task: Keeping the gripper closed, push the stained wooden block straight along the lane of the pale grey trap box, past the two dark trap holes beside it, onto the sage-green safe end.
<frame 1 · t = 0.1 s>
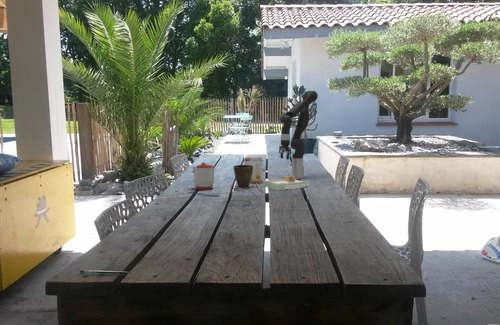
hand: (284, 159, 400), 17 cm above the table, tool pointing down, fingers open, 8 cm apart
trap box: (286, 186, 368), on the table
plant pot: (243, 187, 367), on the table
cracker box: (253, 182, 388), on the table
block: (289, 181, 375), point 3 cm above the table, touching trap box
citrus juicer: (203, 188, 362), on the table
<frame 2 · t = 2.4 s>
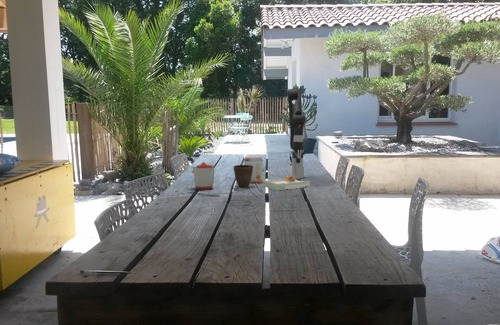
hand: (298, 163, 377), 17 cm above the table, tool pointing down, fingers closed
nothing on the table moved.
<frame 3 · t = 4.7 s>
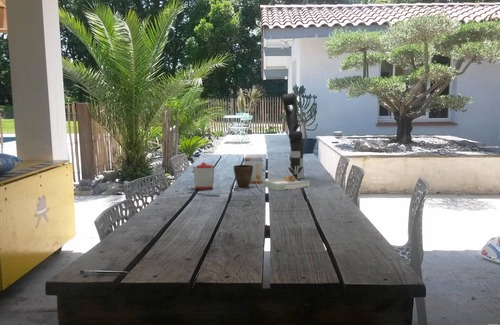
hand: (295, 178, 377), 5 cm above the table, tool pointing down, fingers closed
block: (289, 181, 375), point 3 cm above the table, touching gripper
everything else where it was.
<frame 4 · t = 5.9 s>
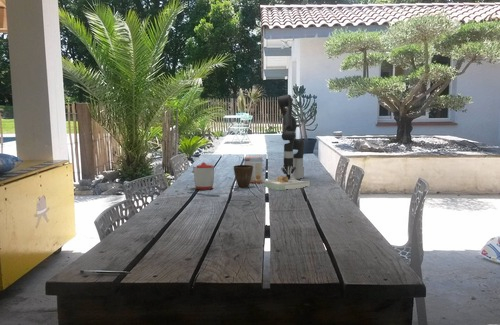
hand: (288, 179, 374), 5 cm above the table, tool pointing down, fingers closed
block: (282, 182, 372), point 3 cm above the table, touching gripper, trap box
everything else where it was.
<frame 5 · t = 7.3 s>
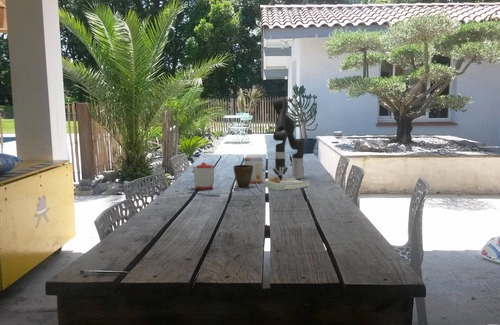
hand: (280, 180, 370), 5 cm above the table, tool pointing down, fingers closed
block: (274, 182, 368), point 3 cm above the table, touching gripper, trap box
everything else where it was.
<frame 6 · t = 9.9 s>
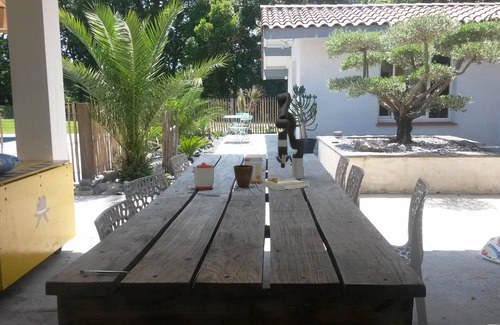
hand: (282, 168, 370), 14 cm above the table, tool pointing down, fingers closed
block: (272, 183, 367), point 3 cm above the table, touching trap box
everything else where it was.
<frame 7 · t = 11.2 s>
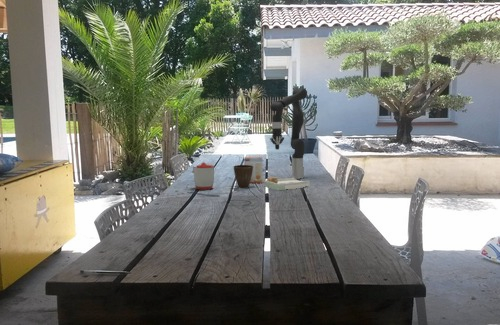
hand: (277, 149, 386), 27 cm above the table, tool pointing down, fingers closed
nothing on the table moved.
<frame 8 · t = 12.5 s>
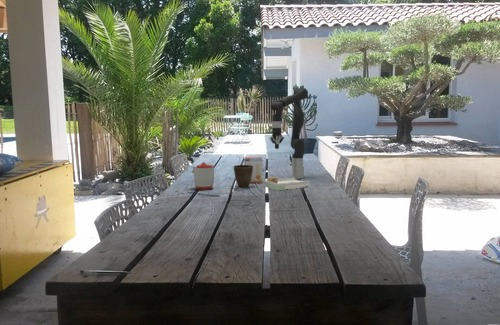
hand: (276, 148, 386), 27 cm above the table, tool pointing down, fingers closed
nothing on the table moved.
at the end: block inside the target area on the trap box (0.9 cm from its centre), point 3.0 cm above the trap box's base; block tilted 0°; block moved 16.0 cm from its start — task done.
